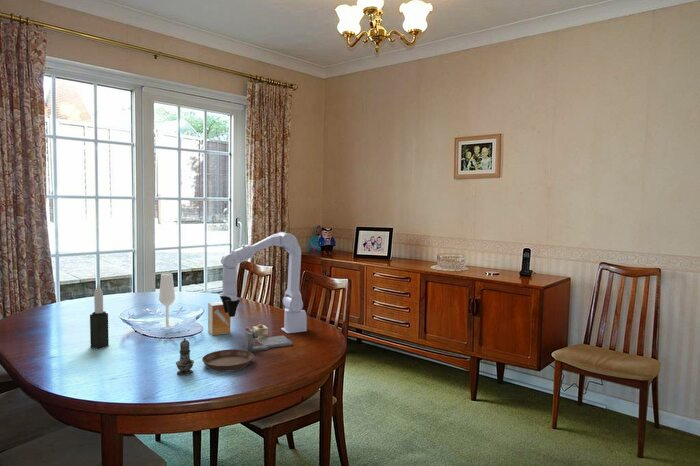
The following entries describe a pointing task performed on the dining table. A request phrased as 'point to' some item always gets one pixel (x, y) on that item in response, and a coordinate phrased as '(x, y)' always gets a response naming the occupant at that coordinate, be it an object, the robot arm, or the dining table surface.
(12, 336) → the dining table surface
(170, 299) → the champagne flute
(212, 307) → the small box
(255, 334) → the lever
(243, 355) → the plant saucer
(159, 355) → the dining table surface
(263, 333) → the block
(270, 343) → the grey panel board
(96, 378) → the dining table surface
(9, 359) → the dining table surface
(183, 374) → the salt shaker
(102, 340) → the black and grey bottle
